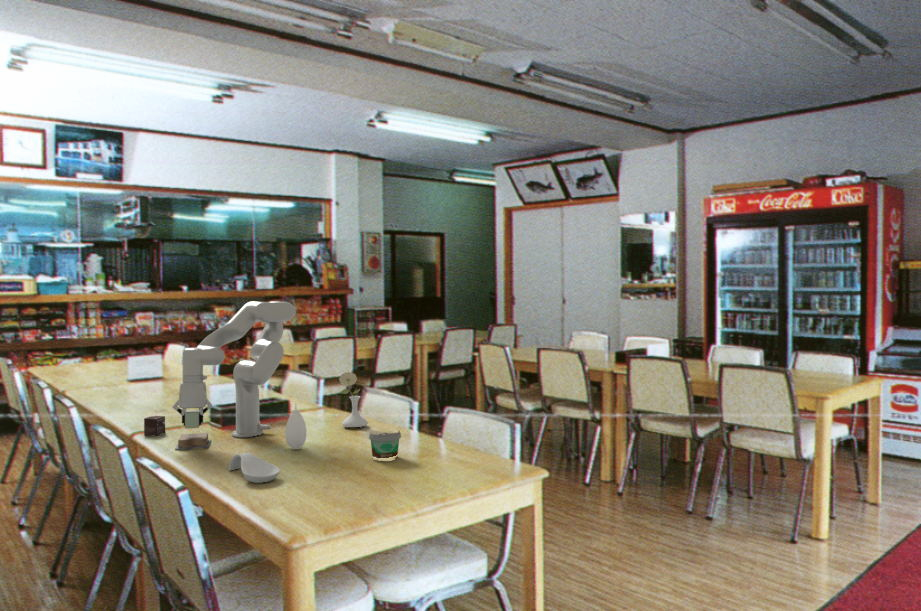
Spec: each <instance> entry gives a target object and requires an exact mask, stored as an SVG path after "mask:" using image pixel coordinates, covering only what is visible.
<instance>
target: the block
mask: <svg viewBox="0 0 921 611" xmlns="http://www.w3.org/2000/svg"><path fill="white" fill-rule="evenodd" d="M199 415H200V412H199V410H186V412H185V426H184V429H199V428H200V426H201V425H199Z"/></svg>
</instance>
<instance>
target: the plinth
mask: <svg viewBox="0 0 921 611" xmlns="http://www.w3.org/2000/svg"><path fill="white" fill-rule="evenodd" d="M177 441H178V443H177V445H176V446H175V448H174V450H175V451H181V450H180V449H187V450H194V449H193V448H204V449H209V448H208V447H210V445H211V442H212V439H209V432H200V433H198V432H197V433H183V434H181V435H180V436H179V438H178V440H177ZM209 444H210V445H209Z"/></svg>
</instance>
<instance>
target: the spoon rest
mask: <svg viewBox="0 0 921 611" xmlns="http://www.w3.org/2000/svg"><path fill="white" fill-rule="evenodd" d="M230 459H231V460H230V461H229V464H228V469H227V471H229V472H231V471H230V470H234V471H236V470H235V469H238V470H241V472H242V475H243V477H244V479H245V480H247V481H249V483H252V482H253V483H252V484H264V483H263V482H266V483H269V482H271V481H273V480H274V479H276V478H277V476H278V475H279V474H280V472H281V470H280V468H279V467H278V466H276V465H275V464H272V463H271V462H268V461H266V460H264V459H262V458H260V457H259V456H256V455H254V454H253V453H249V452H243V453H236V454H234V455H233V456H232V457H231V458H230ZM239 468H241V469H239ZM268 481H269V482H268Z"/></svg>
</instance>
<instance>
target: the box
mask: <svg viewBox="0 0 921 611" xmlns="http://www.w3.org/2000/svg"><path fill="white" fill-rule="evenodd" d="M143 428H144V429H143V432H144V433H143V436H148V435H155V436H154V437H158V436H161V435H162V434H163V433H164V434H166V416H164V415H163V416H162V415H152V416H147V417H145V418H143ZM160 434H161V435H160ZM157 435H158V436H157Z"/></svg>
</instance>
